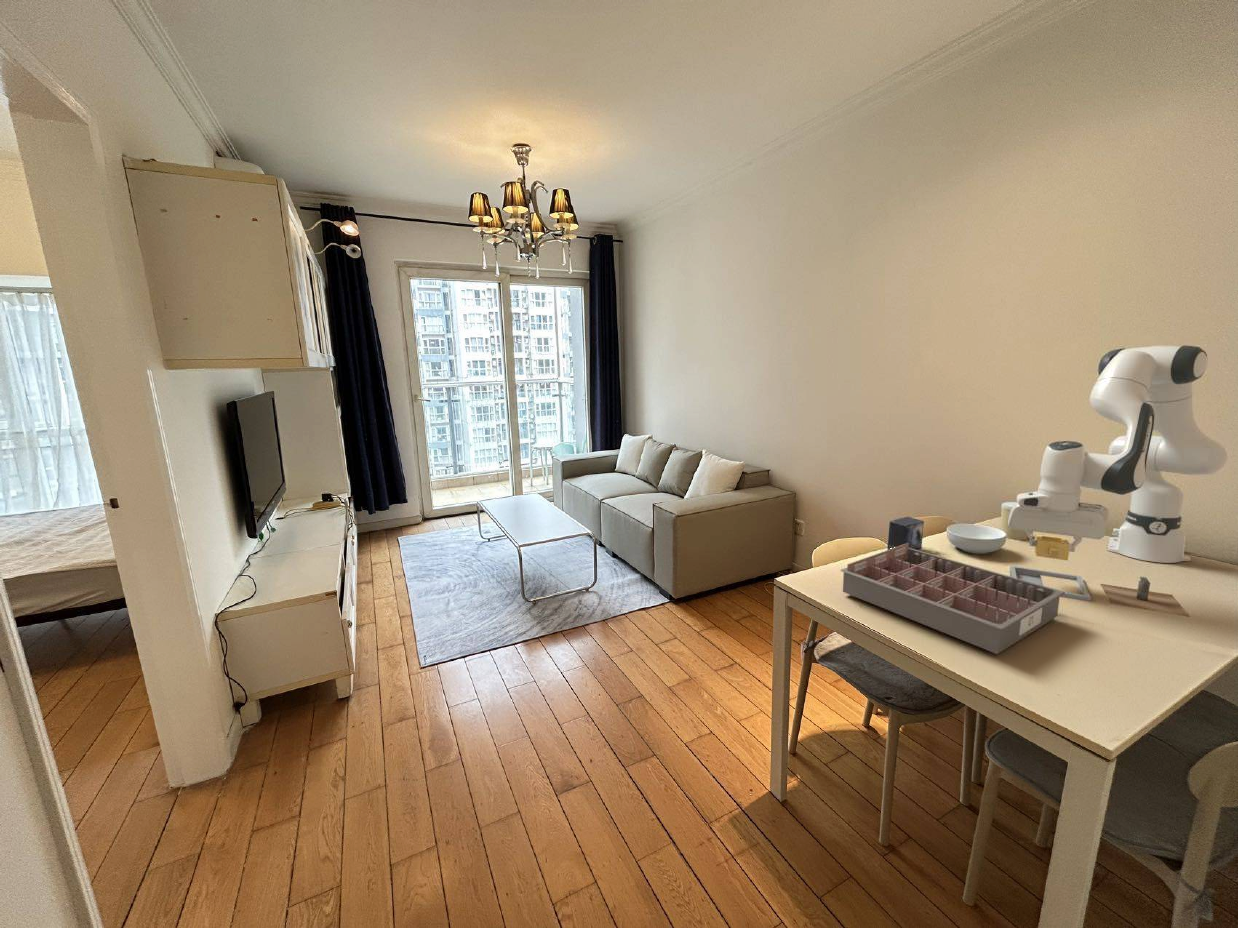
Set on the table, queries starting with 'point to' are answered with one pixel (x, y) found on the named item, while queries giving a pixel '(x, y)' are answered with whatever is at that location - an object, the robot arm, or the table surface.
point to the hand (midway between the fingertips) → (1051, 548)
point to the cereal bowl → (976, 538)
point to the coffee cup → (1005, 527)
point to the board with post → (1143, 598)
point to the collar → (1052, 547)
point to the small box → (905, 533)
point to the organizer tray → (952, 596)
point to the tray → (1035, 577)
